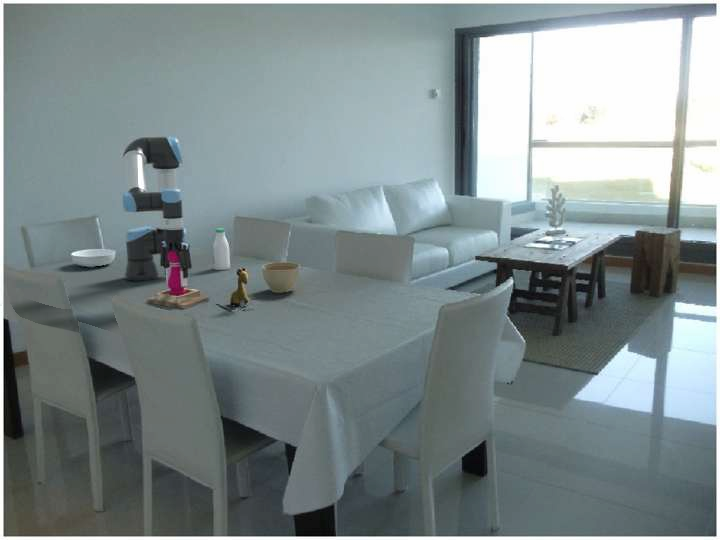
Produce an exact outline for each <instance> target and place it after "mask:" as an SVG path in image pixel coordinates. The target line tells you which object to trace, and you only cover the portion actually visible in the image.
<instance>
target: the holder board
mask: <svg viewBox="0 0 720 540" xmlns="http://www.w3.org/2000/svg"><path fill="white" fill-rule="evenodd" d="M184 289H185V290H186V294H184V295H180V296H173V295H170V292H169V291H170V290H171V289H170V288H169V289H166V290H163V291H159V292H156V293H154V296H152V297H149V298H147V299H146V302H147V303H148V304H152V305H153V304H154V305H159V306H166V307H171V308H178V309H183V310H185V309H189V308H191V306H192V307H194V305H195V306H198V305H200V303H201V304H203V303H202V302H204V303H207V302H209V301H210V297H209V296H205V295H204V296H203V295H201V290H199V289H193V288H187V287H185V288H184ZM206 301H207V302H206ZM197 304H198V305H197Z"/></svg>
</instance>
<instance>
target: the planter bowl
mask: <svg viewBox="0 0 720 540" xmlns="http://www.w3.org/2000/svg"><path fill="white" fill-rule="evenodd" d="M300 269H301V265H300V264H299V263H296V262H289V261H282V262H281V261H279V262H269V263H266V264H265V263H264V264H263V265H262V266H261V270H262V275H263V279H264V282H265V283H266V285H267V286H268V288H270V289H269V290H270V292H272V293H277V294H283V292H286V293H290V292H289V291H291V292H292V291H294V287H295V286H296V284H297V282H298V280H299V277H300Z"/></svg>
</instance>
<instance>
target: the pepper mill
mask: <svg viewBox="0 0 720 540" xmlns="http://www.w3.org/2000/svg"><path fill="white" fill-rule="evenodd" d="M178 252H180V251H178ZM168 260H169V261H170V262H169V263H170V266H171V274H170V277H169V280H168V284H167V287H168V288H169V289H171V290H170V291H169V292H170V295H173V296H180V295H184V294H186V290H185V289H184V288H187V286H184V287H181V272H180V271H181V270H182V268H181V265H180V262H179V259H178V255H177V254H176V253H175V251H170V252H169V253H168Z"/></svg>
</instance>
